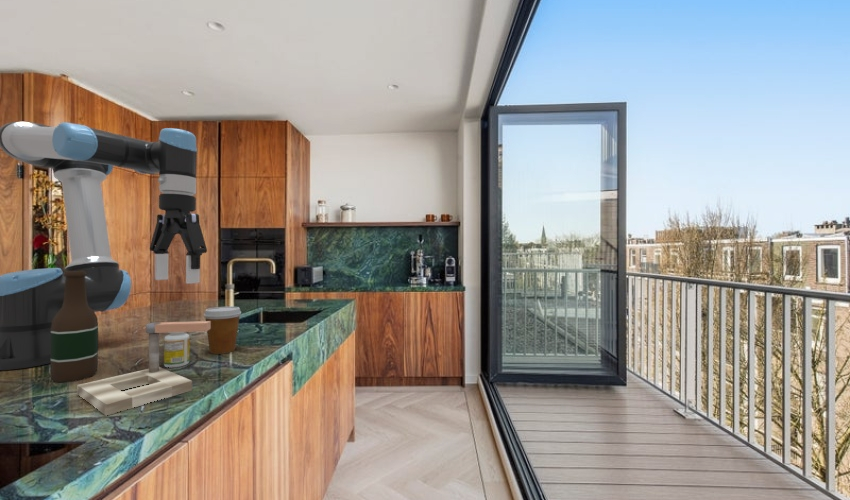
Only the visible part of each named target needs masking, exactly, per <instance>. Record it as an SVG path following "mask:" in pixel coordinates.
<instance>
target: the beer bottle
mask: <svg viewBox="0 0 850 500" xmlns="http://www.w3.org/2000/svg"><path fill="white" fill-rule="evenodd" d="M64 273H65V274H64V276H65V277H66V280H65V291H64V301H63V305H62V308H61V309H60V310H59V312H58V313H57V314H56V315H55V317H54V319H53V321H52V325H51V363H50V380H51V381H52V382H56V383H66V382H67V383H68V381H70V382H76V381H75V380H77V381H81V380H83V379H84V378H85V379H87V378H88V377H89V378H92V377H93V376H94V375H96V373H97V372H98V370H99V369H98V368H99V366H98V365H99V360H98V359H99V321H98V317H97V315H96V312H94V311H93V310H92V309H91V308H90V307H89V306H88V302H87V296H86V283H85V276H86V275H87V274H86V271H67V272H66V271H65V272H64ZM89 378H88V379H89ZM80 379H81V380H80Z"/></svg>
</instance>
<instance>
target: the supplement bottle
mask: <svg viewBox="0 0 850 500" xmlns="http://www.w3.org/2000/svg"><path fill="white" fill-rule="evenodd" d="M167 333H168V334H167V335H166V336H165V337H164V339H163V341H164V342H163V350H164V351H163V366H164V367H165V368H168V367H169V368H170V369H171V368H172V369H173V368H181V367H184V366H186V365H188V364H189V362H190V351H191V350H190V347H191V346H190V341H191V339H190V335H189V334H188V333H187V332H167ZM169 368H168V369H169Z"/></svg>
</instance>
